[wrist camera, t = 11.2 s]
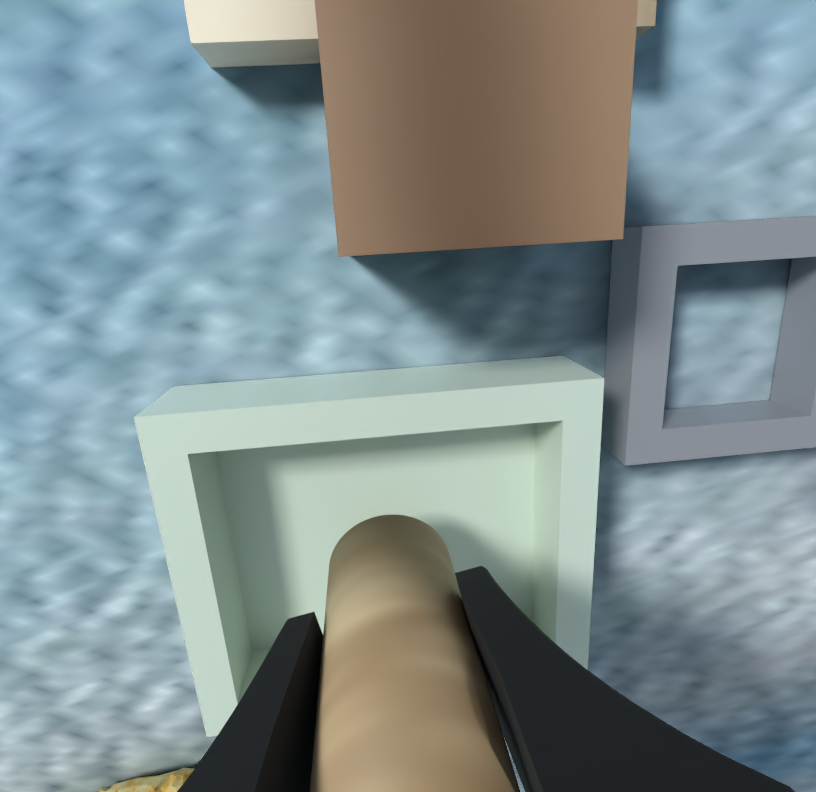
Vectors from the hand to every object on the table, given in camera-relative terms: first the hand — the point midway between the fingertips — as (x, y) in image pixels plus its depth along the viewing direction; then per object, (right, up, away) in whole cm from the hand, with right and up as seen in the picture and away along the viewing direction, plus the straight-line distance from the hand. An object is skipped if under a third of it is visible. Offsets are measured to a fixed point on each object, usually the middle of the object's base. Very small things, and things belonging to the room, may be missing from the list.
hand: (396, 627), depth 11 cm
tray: (0, +1, +4) cm, 5 cm away
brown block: (+1, +11, +2) cm, 11 cm away
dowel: (0, +1, +2) cm, 2 cm away
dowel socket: (+9, +7, +4) cm, 12 cm away
